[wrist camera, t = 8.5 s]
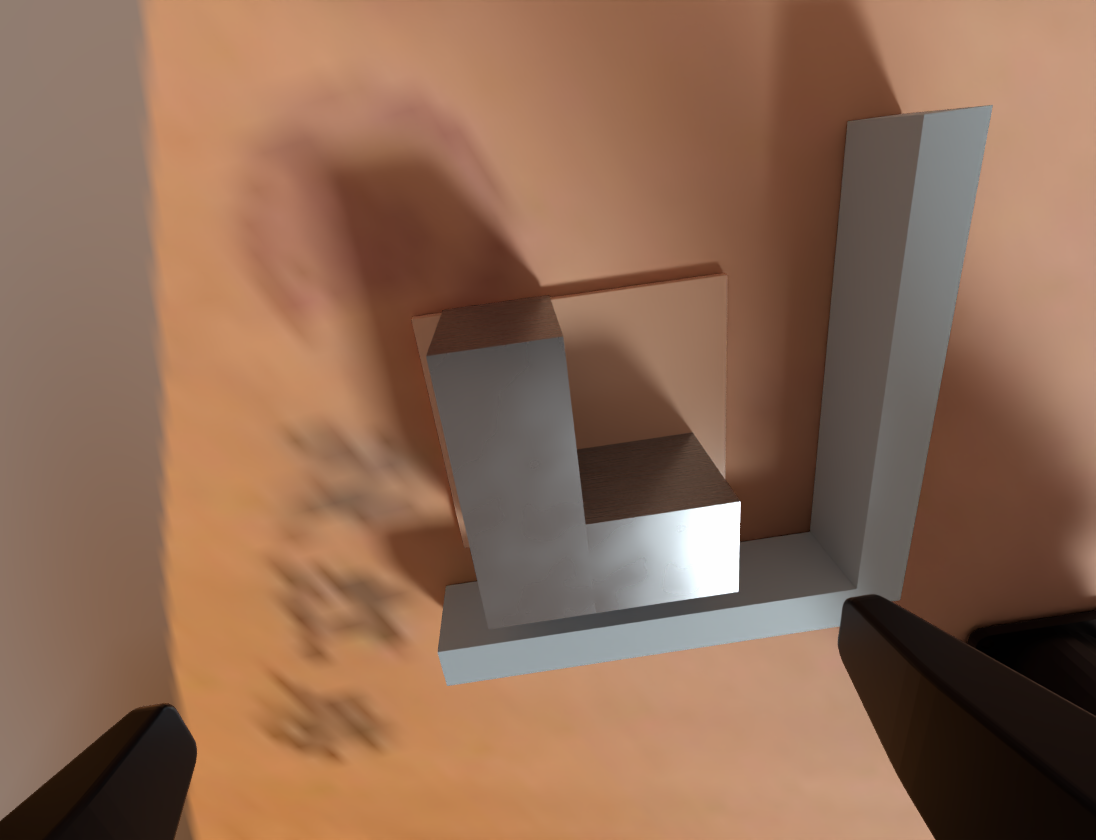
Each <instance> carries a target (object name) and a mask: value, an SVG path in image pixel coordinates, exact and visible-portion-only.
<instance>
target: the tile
mask: <svg viewBox="0 0 1096 840" xmlns="http://www.w3.org/2000/svg"><path fill="white" fill-rule="evenodd" d="M550 299H551V302H552V305H553V308H554V311H555V314H556V316H557V319H558V322H559V325H560V328H561V331H562V334H563V337H564V346H565V354H566V363H567V371H568V380H569V388H570V397H571V405H572V414H573V422H574V431H575V439H576V448H577V449H583V448H590V447H597V446H603V445H610V444H617V443H624V442H630V441H637V440H644V439H651V438H658V437H664V436H671V435H678V434H685V433H692V432H693V433H694V435H695V436H696V438H697V439H698V441H699V442H700V444H701V445H702V447H703V448H704V449H705V451H706V452H707V454H708V455H709V457H710V458H711V460H712V461H713V463H714V464H715V465H716V467H717V468H718V470H719V471H720V473H721V474H722V476H723V477H724V478H725V457H726V378H727V300H728V275H727V274H725V273H720V274H713V275H706V276H699V277H692V278H685V279H678V280H670V281H663V282H656V283H649V284H642V285H635V286H628V287H621V288H614V289H607V290H599V291H592V292H585V293H578V294H571V295H564V296H557V297H550ZM440 316H441V313H436V314H429V315H422V316H415V317H412V319H411V321H412V325H413V329H414V334H415V338H416V342H417V347H418V351H419V355H420V360H421V364H422V368H423V373H424V377H425V381H426V386H427V390H428V394H429V399H430V403H431V407H432V411H433V416H434V420H435V424H436V429H437V433H438V437H439V442H440V446H441V450H442V455H443V459H444V463H445V468H446V472H447V476H448V481H449V485H450V489H451V494H452V498H453V502H454V506H455V511H456V515H457V519H458V524H459V528H460V532H461V537H462V541H463V545H464V548H468V547H470V546H469V542H468V538H467V533H466V529H465V525H464V520H463V516H462V511H461V507H460V503H459V498H458V494H457V490H456V485H455V481H454V477H453V472H452V468H451V463H450V459H449V455H448V450H447V446H446V442H445V437H444V433H443V428H442V424H441V420H440V415H439V411H438V407H437V402H436V398H435V394H434V389H433V385H432V380H431V376H430V372H429V367H428V363H427V359H426V355H427V352H428V349H429V346H430V344H431V341H432V338H433V335H434V333H435V330H436V327H437V324H438V322H439V319H440Z"/></svg>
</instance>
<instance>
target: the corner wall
mask: <svg viewBox="0 0 1096 840" xmlns="http://www.w3.org/2000/svg"><path fill="white" fill-rule="evenodd" d="M992 106H993V105H988V106H978V107H968V108H957V109H947V110H937V111H926V112H916V113H906V114H898V115H890V116H883V117H876V118H868V119H861V120H854V121H848V122H847V133H846V144H845V155H844V166H843V177H842V188H841V199H840V210H839V220H838V231H837V242H836V253H835V264H834V275H833V286H832V297H831V308H830V319H829V329H828V340H827V351H826V362H825V373H824V384H823V395H822V406H821V417H820V428H819V438H818V449H817V460H816V471H815V482H814V493H813V504H812V515H811V526H810V532H805V533H799V534H792V535H785V536H779V537H772V538H765V539H758V540H752V541H745V542H739V582H738V592H732V593H726V594H719V595H713V596H706V597H699V598H693V599H686V600H680V601H673V602H666V603H660V604H653V605H647V606H640V607H634V608H627V609H620V610H614V611H607V612H601V613H594V614H587V615H581V616H574V617H568V618H561V619H555V620H548V621H541V622H535V623H528V624H522V625H515V626H509V627H502V628H495V629H488V625H487V621H486V616H485V612H484V608H483V603H482V599H481V594H480V590H479V586H478V581H476V582H469V583H463V584H456V585H449V586H446V589H445V597H444V605H443V613H442V621H441V629H440V637H439V645H438V655H439V659H440V662H441V666H442V669H443V673H444V676H445V680H446V683H447V686H450V685H456V684H463V683H470V682H476V681H483V680H489V679H496V678H502V677H509V676H516V675H522V674H529V673H535V672H542V671H549V670H555V669H562V668H568V667H575V666H582V665H588V664H595V663H601V662H608V661H615V660H621V659H628V658H634V657H641V656H648V655H654V654H661V653H667V652H674V651H680V650H687V649H694V648H700V647H707V646H713V645H720V644H727V643H733V642H740V641H746V640H753V639H760V638H766V637H773V636H779V635H786V634H793V633H799V632H806V631H812V630H819V629H826V628H832V627H839V626H840V621H841V613H842V607H843V603H844V601H845V600H846V599H847V598H850V597H856V596H862V595H869V594H877V595H880V596H882V597H884V598H886V599H888V600H890V601H898V600H900V598H901V593H902V588H903V582H904V577H905V572H906V566H907V561H908V556H909V550H910V545H911V540H912V534H913V529H914V524H915V518H916V513H917V508H918V502H919V497H920V491H921V486H922V481H923V475H924V470H925V465H926V459H927V454H928V449H929V443H930V438H931V433H932V427H933V422H934V417H935V411H936V406H937V401H938V395H939V390H940V385H941V379H942V374H943V368H944V363H945V358H946V352H947V347H948V342H949V336H950V331H951V326H952V320H953V315H954V310H955V304H956V299H957V294H958V288H959V283H960V278H961V272H962V267H963V262H964V256H965V251H966V245H967V240H968V235H969V229H970V224H971V219H972V213H973V208H974V203H975V197H976V192H977V187H978V181H979V176H980V171H981V165H982V160H983V155H984V149H985V144H986V139H987V133H988V128H989V123H990V117H991V112H992Z"/></svg>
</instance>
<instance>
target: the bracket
mask: <svg viewBox="0 0 1096 840" xmlns="http://www.w3.org/2000/svg"><path fill="white" fill-rule="evenodd" d="M426 359H427V363H428V367H429V372H430V376H431V380H432V385H433V389H434V394H435V398H436V402H437V407H438V411H439V415H440V420H441V424H442V428H443V433H444V437H445V442H446V446H447V450H448V455H449V459H450V463H451V468H452V472H453V477H454V481H455V485H456V490H457V494H458V498H459V503H460V507H461V511H462V516H463V520H464V525H465V529H466V533H467V538H468V542H469V546H470V551H471V555H472V559H473V564H474V568H475V573H476V577H477V581H478V586H479V590H480V594H481V599H482V603H483V608H484V612H485V616H486V621H487V625H488V629H495V628H502V627H509V626H515V625H522V624H528V623H535V622H541V621H548V620H555V619H561V618H568V617H574V616H581V615H587V614H594V613H601V612H607V611H614V610H620V609H627V608H634V607H640V606H647V605H653V604H660V603H666V602H673V601H680V600H686V599H693V598H699V597H706V596H713V595H719V594H726V593H732V592H738V582H739V540H740V500H739V499H738V497H737V496H736V494H735V493H734V492H733V490H732V489H731V487H730V486H729V484H728V483H727V481H726V480H725V478H724V477H723V476H722V474H721V473H720V471H719V470H718V468H717V467H716V465H715V464H714V463H713V461H712V460H711V458H710V457H709V455H708V454H707V452H706V451H705V449H704V448H703V447H702V445H701V444H700V442H699V441H698V439H697V438H696V436H695V435H694V433H693V432H692V433H685V434H678V435H671V436H664V437H658V438H651V439H644V440H637V441H630V442H624V443H617V444H610V445H603V446H597V447H590V448H583V449H577V448H576V439H575V431H574V422H573V414H572V405H571V397H570V388H569V380H568V371H567V363H566V354H565V346H564V337H563V334H562V331H561V328H560V325H559V322H558V319H557V316H556V314H555V311H554V308H553V305H552V302H551V299H550V296H549V295H545V296H538V297H531V298H524V299H517V300H510V301H503V302H496V303H489V304H482V305H475V306H468V307H461V308H454V309H447V310H443V311H442V313H441V316H440V319H439V322H438V324H437V327H436V330H435V333H434V335H433V338H432V341H431V344H430V346H429V349H428V352H427V355H426Z"/></svg>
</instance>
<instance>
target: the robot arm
mask: <svg viewBox="0 0 1096 840" xmlns="http://www.w3.org/2000/svg"><path fill="white" fill-rule="evenodd" d="M838 649H839V653H840V656H841V659H842V661H843V664H844V666H845V668H846V670H847V672H848V674H849V676H850V678H851V680H852V682H853V685H854V687H855V689H856V691H857V693H858V695H859V697H860V699H861V701H862V703H863V705H864V708H865V710H866V712H867V714H868V716H869V718H870V720H871V722H872V724H873V726H874V728H875V731H876V733H877V735H878V737H879V739H880V741H881V743H882V745H883V747H884V749H885V751H886V754H887V756H888V758H889V760H890V762H891V764H892V766H893V767H894V769H895V771H896V773H897V775H898V777H899V779H900V781H901V782H902V784H903V786H904V788H905V789H906V791H907V793H908V795H909V796H910V798H911V800H912V801H913V803H914V805H915V806H916V808H917V810H918V811H919V813H920V815H921V817H922V818H923V820H924V822H925V823H926V825H927V827H928V828H929V830H930V832H931V833H932V835H933V837H934V838H935V840H1096V611H1090V612H1084V613H1077V614H1071V615H1064V616H1057V617H1051V618H1044V619H1038V620H1031V621H1025V622H1018V623H1012V624H1005V625H998V626H992V627H985V628H981V629H978V630H976V631H974V632H973V633H972V634H971V635H970V637H969V639H968V643H967V644H966V643H964V642H963V641H961V640H959V639H957V638H955V637H954V636H952V635H950V634H948V633H947V632H945V631H943V630H941V629H939V628H938V627H936V626H934V625H932V624H931V623H929V622H927V621H925V620H923V619H922V618H920V617H918V616H916V615H915V614H913V613H911V612H909V611H907V610H906V609H904V608H902V607H900V606H898V605H897V604H895V603H893V602H891V601H890V600H888V599H886V598H884V597H882V596H880V595H877V594H869V595H862V596H856V597H850V598H847V599H846V600H845V601H844V603H843V607H842V613H841V621H840V629H839V636H838ZM196 758H197V747H196V742H195V740H194V738H193V736H192V735H191V733H190V731H189V730H188V728H187V726H186V725H185V723H184V721H183V720H182V718H181V716H180V715H179V713H178V711H177V710H176V708H175V707H174V706H172V705H171V704H169V703H162V704H155V705H149V706H143V707H139V708H136V709H134V710H132V711H131V712H129V713H128V714H127V715H126V716H125V717H123V718H122V719H121V720H120V721H119V722H117V723H116V724H115V725H114V726H113V727H111V728H110V729H109V730H108V731H107V732H105V733H104V734H103V735H102V736H101V737H99V738H98V739H97V740H96V741H95V742H94V743H92V744H91V745H90V746H89V747H88V748H86V749H85V750H84V751H83V752H82V753H80V754H79V755H78V756H77V757H76V758H75V759H73V760H72V761H71V762H70V763H69V764H67V765H66V766H65V767H64V768H63V769H62V770H60V771H59V772H58V773H57V774H56V775H54V776H53V777H52V778H51V779H50V780H49V781H47V782H46V783H45V784H44V785H42V786H41V787H40V788H39V789H38V790H36V791H35V792H34V793H33V794H32V795H31V796H29V797H28V798H27V799H26V800H25V801H23V802H22V803H21V804H20V805H19V806H18V807H16V808H15V809H14V810H13V811H12V812H10V813H9V814H8V815H7V816H6V817H4V818H3V819H2V820H1V821H0V840H174V839H175V835H176V831H177V828H178V824H179V821H180V817H181V814H182V810H183V806H184V803H185V799H186V796H187V792H188V789H189V785H190V782H191V778H192V774H193V771H194V767H195V764H196Z"/></svg>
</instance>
